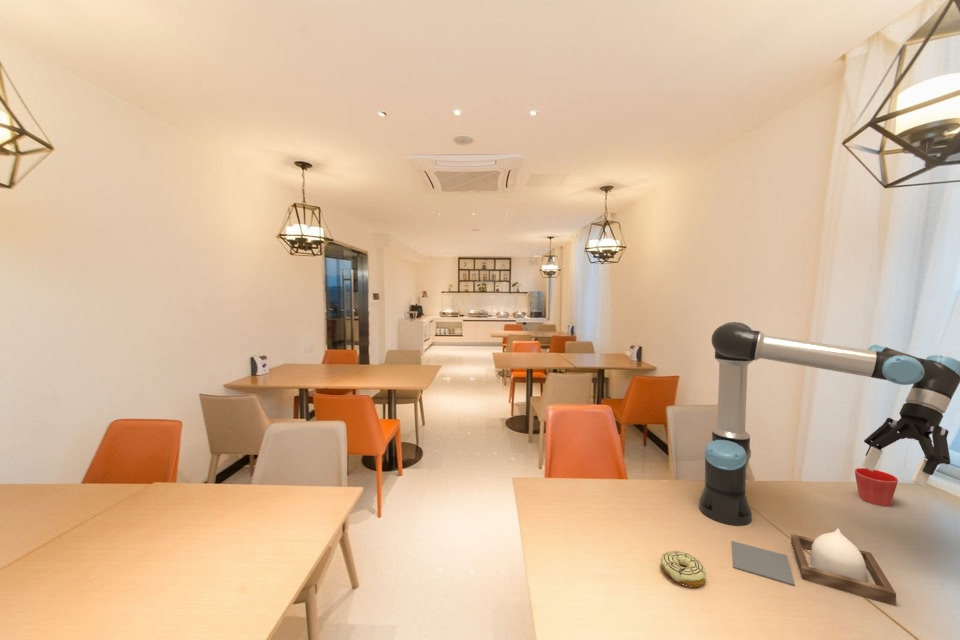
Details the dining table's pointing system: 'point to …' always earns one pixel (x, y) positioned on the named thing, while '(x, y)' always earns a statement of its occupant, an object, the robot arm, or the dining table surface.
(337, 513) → the dining table surface
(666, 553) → the decorated donut
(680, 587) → the dining table surface
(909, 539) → the dining table surface
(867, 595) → the walnut collar
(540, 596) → the dining table surface
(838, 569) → the teardrop
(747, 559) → the grey mat
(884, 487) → the flower pot
